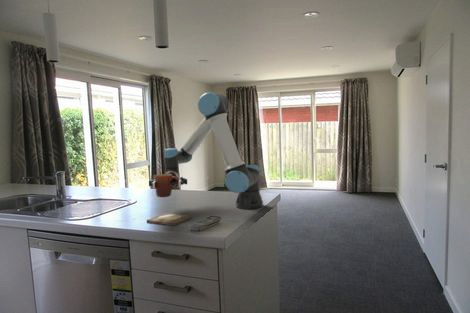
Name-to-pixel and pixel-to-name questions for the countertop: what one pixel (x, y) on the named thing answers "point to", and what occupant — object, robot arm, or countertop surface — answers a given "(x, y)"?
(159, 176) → the mug
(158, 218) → the board
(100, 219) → the countertop surface
